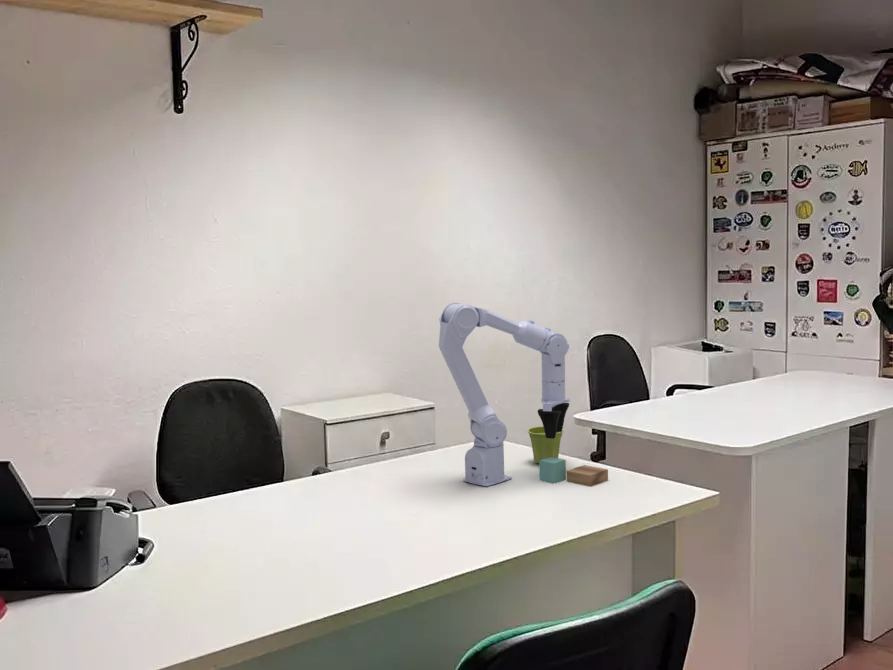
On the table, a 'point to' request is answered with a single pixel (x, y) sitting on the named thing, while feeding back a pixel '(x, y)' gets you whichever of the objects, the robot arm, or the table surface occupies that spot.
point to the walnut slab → (587, 475)
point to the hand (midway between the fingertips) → (554, 434)
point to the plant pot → (544, 444)
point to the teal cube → (552, 469)
